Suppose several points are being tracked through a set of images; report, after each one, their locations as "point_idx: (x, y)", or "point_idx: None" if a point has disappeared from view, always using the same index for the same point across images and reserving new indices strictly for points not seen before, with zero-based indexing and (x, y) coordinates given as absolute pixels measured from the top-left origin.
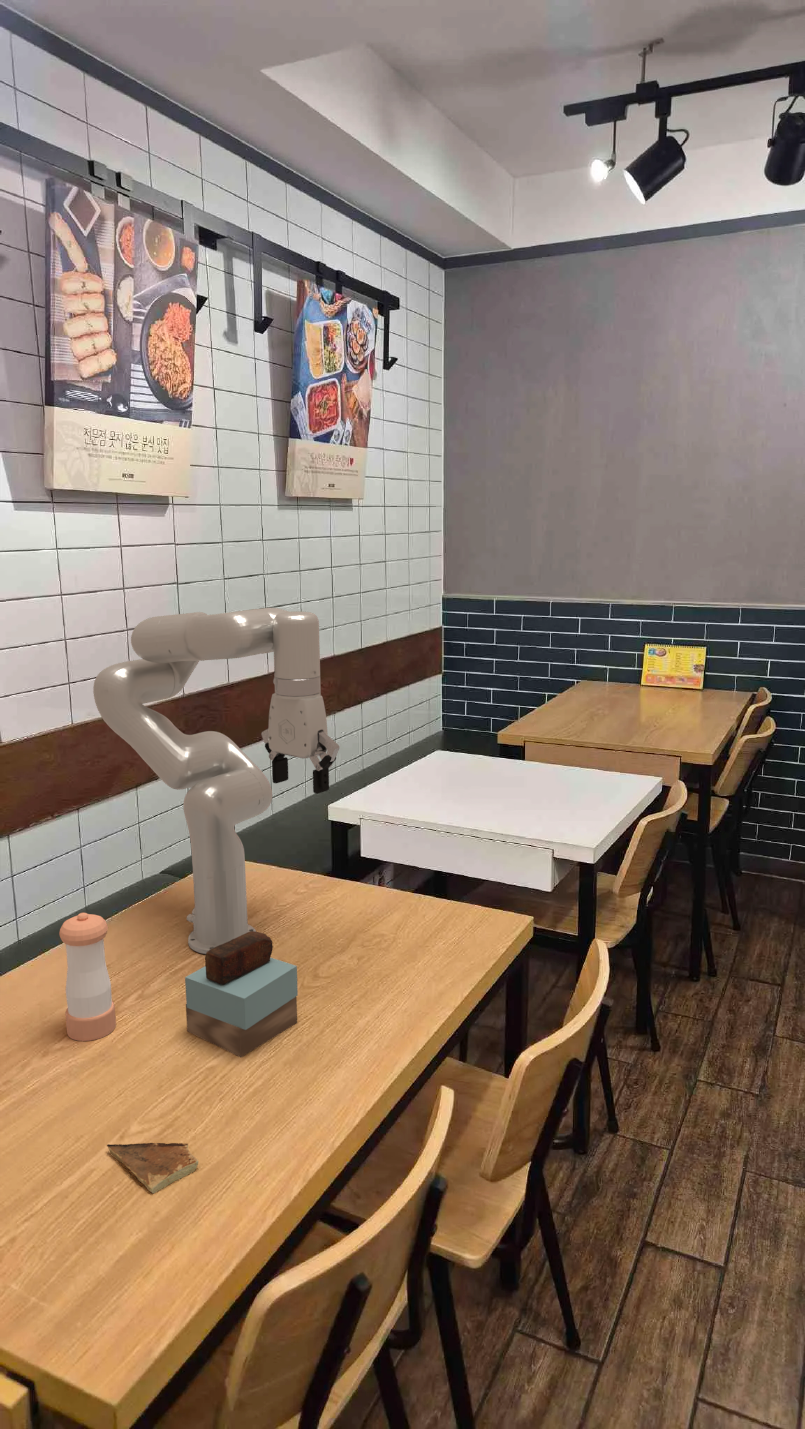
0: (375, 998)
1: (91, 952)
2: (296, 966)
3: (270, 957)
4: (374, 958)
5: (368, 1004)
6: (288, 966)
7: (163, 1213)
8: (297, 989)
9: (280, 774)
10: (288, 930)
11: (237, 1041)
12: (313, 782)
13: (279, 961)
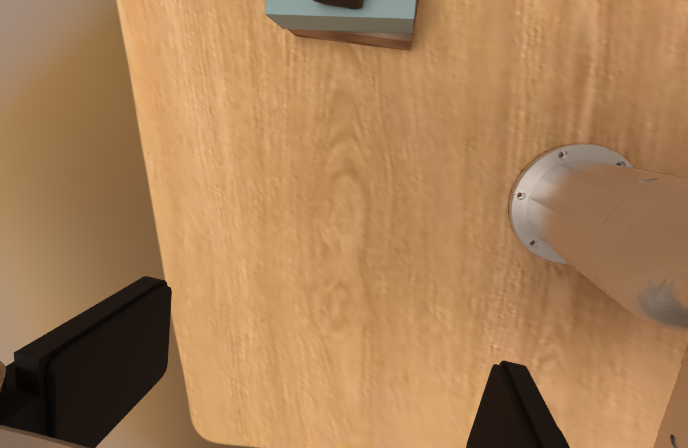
0: (241, 154)
1: None
2: (265, 12)
3: (329, 15)
4: (306, 257)
5: (240, 135)
6: (276, 2)
7: None
8: (280, 26)
9: (494, 434)
10: (481, 284)
11: None
12: (118, 306)
13: (304, 11)
